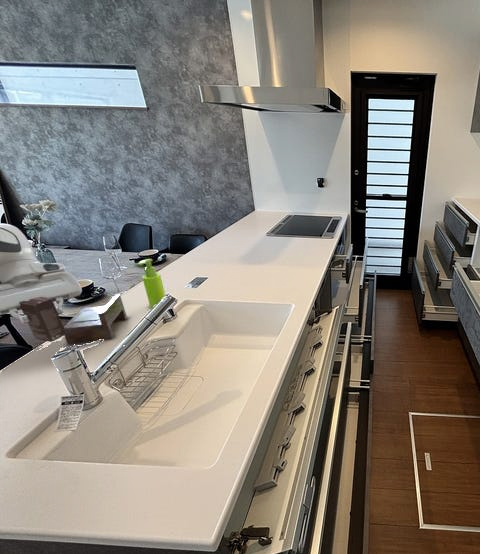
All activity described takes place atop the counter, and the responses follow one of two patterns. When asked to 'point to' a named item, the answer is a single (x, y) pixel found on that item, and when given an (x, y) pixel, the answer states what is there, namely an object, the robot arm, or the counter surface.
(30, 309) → the box
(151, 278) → the soap dispenser
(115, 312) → the dark square tray
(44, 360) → the counter surface
